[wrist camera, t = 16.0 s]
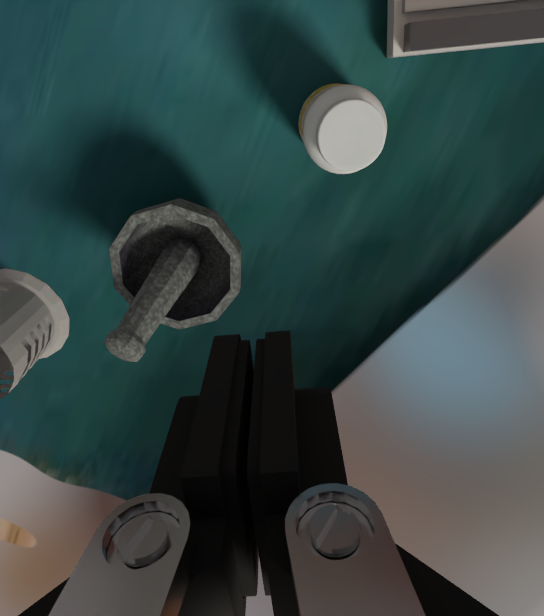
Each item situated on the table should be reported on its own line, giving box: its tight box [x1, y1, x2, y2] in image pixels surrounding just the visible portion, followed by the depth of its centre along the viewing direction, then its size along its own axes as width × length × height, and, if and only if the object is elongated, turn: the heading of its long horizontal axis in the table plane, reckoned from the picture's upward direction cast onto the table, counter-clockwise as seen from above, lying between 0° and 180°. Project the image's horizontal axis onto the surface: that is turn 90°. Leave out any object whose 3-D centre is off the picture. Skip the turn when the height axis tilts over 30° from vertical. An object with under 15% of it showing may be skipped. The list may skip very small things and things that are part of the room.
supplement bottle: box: [299, 83, 387, 174], centre depth 30 cm, size 5×5×10 cm
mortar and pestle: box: [104, 198, 241, 362], centre depth 34 cm, size 11×9×12 cm
